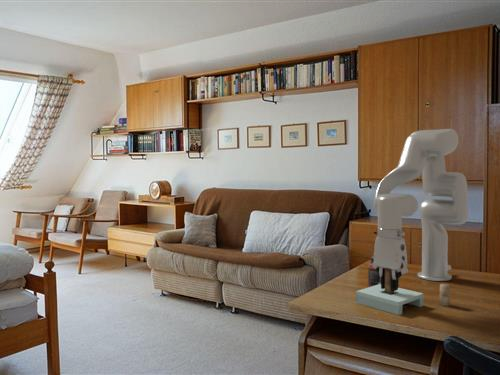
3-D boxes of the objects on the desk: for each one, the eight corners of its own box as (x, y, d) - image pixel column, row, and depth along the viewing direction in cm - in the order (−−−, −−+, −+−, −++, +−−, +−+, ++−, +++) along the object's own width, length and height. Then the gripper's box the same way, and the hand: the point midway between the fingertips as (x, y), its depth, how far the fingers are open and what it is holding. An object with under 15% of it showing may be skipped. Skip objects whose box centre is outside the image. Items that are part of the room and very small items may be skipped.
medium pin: (442, 302, 148) (442, 283, 147) (451, 304, 145) (451, 285, 145) (437, 304, 146) (438, 285, 146) (446, 306, 144) (446, 286, 143)
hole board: (381, 294, 158) (381, 283, 157) (423, 305, 145) (423, 293, 145) (356, 302, 149) (356, 291, 149) (398, 315, 136) (398, 302, 136)
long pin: (388, 296, 149) (388, 266, 148) (395, 298, 147) (396, 268, 146) (382, 298, 147) (382, 268, 147) (390, 300, 145) (390, 269, 144)
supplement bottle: (385, 289, 164) (385, 259, 163) (368, 289, 165) (368, 258, 164) (383, 285, 170) (384, 255, 169) (367, 284, 171) (367, 255, 170)
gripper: (418, 235, 142) (418, 292, 143) (375, 229, 154) (375, 282, 155) (405, 238, 137) (405, 297, 138) (361, 232, 150) (361, 286, 151)
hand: (389, 288), depth 147 cm, fingers closed on long pin, 3 cm apart
